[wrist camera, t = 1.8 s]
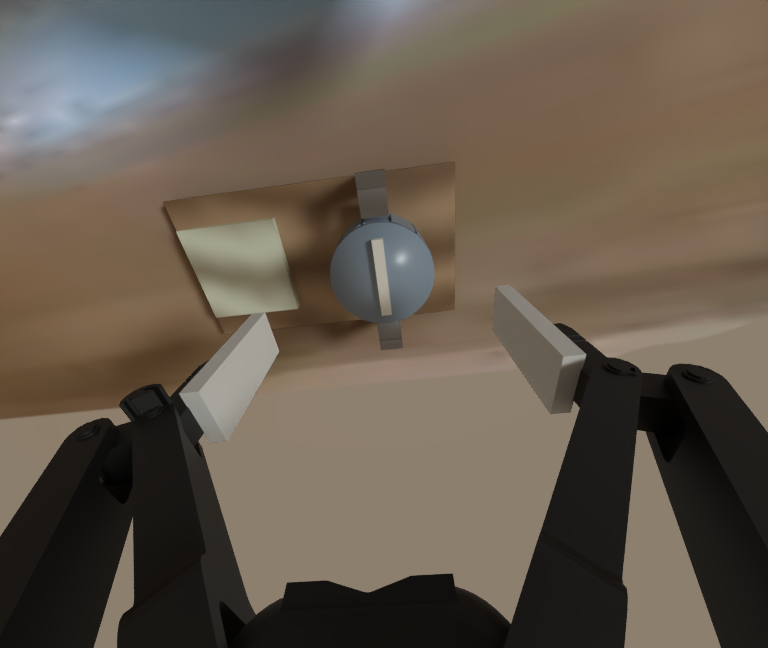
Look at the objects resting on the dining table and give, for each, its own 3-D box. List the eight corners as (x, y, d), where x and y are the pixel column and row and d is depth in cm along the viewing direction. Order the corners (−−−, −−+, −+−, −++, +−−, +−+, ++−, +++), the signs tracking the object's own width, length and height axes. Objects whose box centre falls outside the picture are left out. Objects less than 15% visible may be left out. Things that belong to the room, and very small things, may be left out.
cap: (327, 201, 23) (312, 210, 19) (422, 189, 23) (433, 194, 18) (350, 315, 29) (343, 345, 24) (428, 306, 28) (437, 335, 23)
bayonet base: (170, 198, 26) (103, 208, 20) (452, 159, 25) (475, 157, 18) (230, 330, 33) (194, 368, 27) (452, 306, 32) (468, 341, 25)
